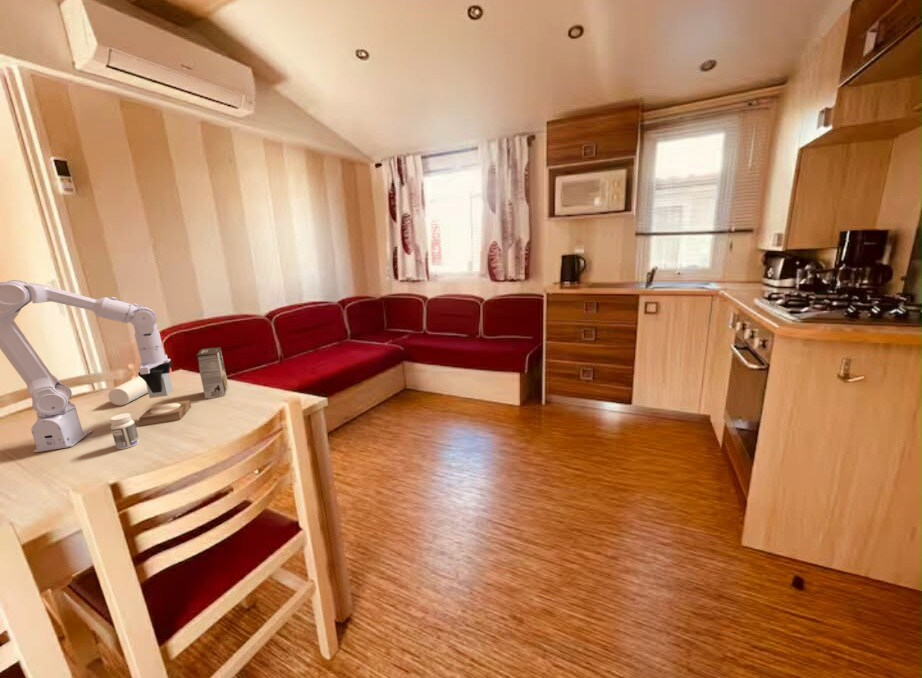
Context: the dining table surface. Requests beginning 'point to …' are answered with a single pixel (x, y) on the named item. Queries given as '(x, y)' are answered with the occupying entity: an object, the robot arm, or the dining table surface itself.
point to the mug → (128, 391)
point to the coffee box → (212, 372)
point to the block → (165, 387)
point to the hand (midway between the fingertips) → (160, 389)
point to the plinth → (165, 412)
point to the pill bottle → (124, 431)
